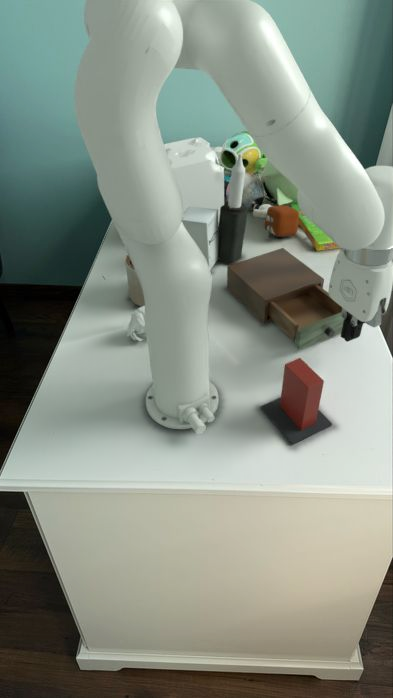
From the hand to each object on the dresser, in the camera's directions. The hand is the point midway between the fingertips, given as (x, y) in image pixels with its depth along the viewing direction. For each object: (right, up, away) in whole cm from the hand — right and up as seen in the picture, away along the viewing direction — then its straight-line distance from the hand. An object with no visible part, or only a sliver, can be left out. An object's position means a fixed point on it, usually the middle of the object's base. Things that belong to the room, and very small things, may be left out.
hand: (350, 336), depth 92 cm
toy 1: (-4, +51, +47) cm, 70 cm away
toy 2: (-11, +35, +45) cm, 59 cm away
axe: (-44, +51, +66) cm, 94 cm away
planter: (-37, +10, +21) cm, 44 cm away
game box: (+6, +23, +32) cm, 40 cm away
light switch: (-21, +58, +71) cm, 94 cm away
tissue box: (-22, +42, +41) cm, 63 cm away
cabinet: (-11, +9, +19) cm, 24 cm away
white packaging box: (-27, +18, +30) cm, 44 cm away
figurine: (-35, +1, +11) cm, 37 cm away
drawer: (-6, +3, +11) cm, 12 cm away
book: (-11, -13, -7) cm, 19 cm away
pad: (-11, -14, -7) cm, 19 cm away
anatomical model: (-11, +43, +50) cm, 67 cm away
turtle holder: (-9, +59, +65) cm, 88 cm away
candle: (-20, +20, +31) cm, 42 cm away
